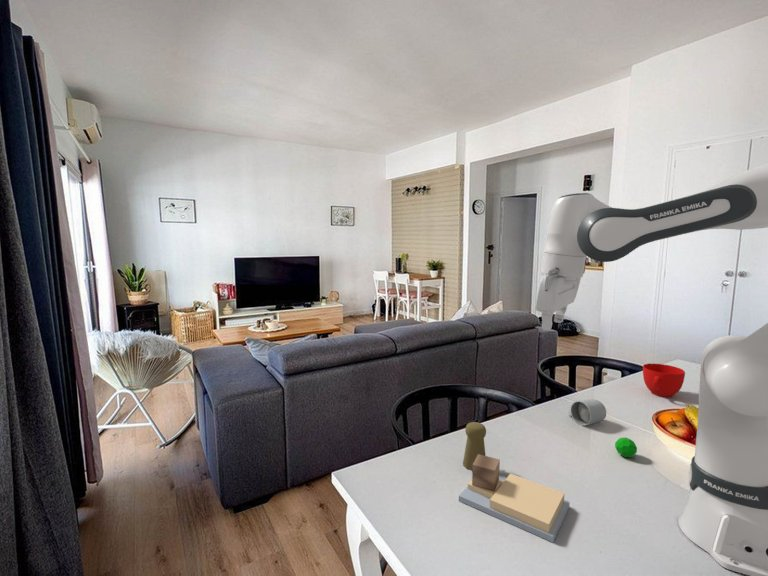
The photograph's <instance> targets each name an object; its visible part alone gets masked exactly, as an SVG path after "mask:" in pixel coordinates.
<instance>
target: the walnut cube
mask: <svg viewBox="0 0 768 576" xmlns="http://www.w3.org/2000/svg"><path fill="white" fill-rule="evenodd" d="M500 462H501V460H500V459H498V458H496V457H495V458H494V457H492V456H487V455H486V456H484V455H480V454H478V455H477V457H476V459H475V461H474V463H473V467H472V472H471V475H472V476H471V480H472V485H473V486H476V487H480V488H483V489H487V490H490V491H493V492H494V491H495V489H496V486H497V484H498V481H499V475H500Z"/></svg>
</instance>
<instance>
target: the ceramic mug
mask: <svg viewBox="0 0 768 576" xmlns="http://www.w3.org/2000/svg"><path fill="white" fill-rule="evenodd" d="M567 413H568V416H569V417H571V418H572V419H573V421H574V422H575V423H576V424H578V425H579V426H582V427H584V426H590V425H594V424H598V423H600V422H602V421H605V419H606V417H607V409H606V407H605V405H604V404H603V403H602V402H601V401H600V400H598V399H593V398H590V399H582V400H581V399H579V400H575V401H574V402H572V404H571V405H570V409H569V410H568V411H567Z"/></svg>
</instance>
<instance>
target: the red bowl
mask: <svg viewBox="0 0 768 576" xmlns="http://www.w3.org/2000/svg"><path fill="white" fill-rule="evenodd" d="M642 376H643V382H644V384H645V386H646V388H647V389H648V390H649V392H650V393H651V394H653V395H655V396H656V397H657V396H658V397H662V398H672V397H673V396H674V395H676V394H677V393H679V391H680V390H681V389H682V386H683V384H684V381H685V377H686V372H685V370H684V369H682V368H679V367H677V366H673V365H668V364H662V363H646V364H643V365H642Z"/></svg>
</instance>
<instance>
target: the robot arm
mask: <svg viewBox="0 0 768 576" xmlns="http://www.w3.org/2000/svg"><path fill="white" fill-rule="evenodd" d="M765 228H766V229H767V228H768V162H767V163H764V164H761V165H758V166H755V167H752V168H749V169H747V170H745V171H743V172H740V173H737V174H736V175H733V176H731V177H729V178H726V179H724V180H722V181H721V182H719V183H716V184H715V185H713V186H711V187H709V188H707V189H704V190H702V191H699V192H697V193H694V194H692V195H687V196H685V197H680V198H677V199H672V200H667V201H664V202H659V203H658V204H654V205H649V206H645V207H641V208H635V209H634V208H633V209H630V208H629V209H628V208H619V207H612V206H610V205H607V204H606V203H603V202H602V201H600V200H599V199H598V198H597V197H595V196H594V195H593V194H591V193H588V192H587V193H586V192H581V193H580V192H579V193H571V194H565V195H561V196H560V197H558V198H557V199H555V200H554V202H553V204H552V206H551V211H550V213H549V217H548V222H547V228H546V244H545V246H544V249H543V252H542V259H541V265H540V266H541V267H540V273H542V274H545V275H544V276H542V277H541V279H540V281H539V285H538V289H537V294H536V297H535V298H536V299H535V304H534V306H535V312H538V313H541V320H542V322H541V323H542V324H541V329H542V330H543V331H550V330H552V328H553V322H554V323H558V324H561V323H563V322H564V316H565V314H566V312H567V309H568V305H570V304H572V303H574V302H575V299H576V298H577V294H578V291H579V287H580V283H581V279H582V278H583V276H584V274H585V271H586V259H587V258H589V259H591V260H593V261H596V262H602V263H609V262H615V261H618V260H621V259H623V258H624V257H626V256H628V255H629V254H630V253H633V251H635V250H636V249H638V248H640V247H641V246H644V245H646V244H648V243H652V242H657V241H660V240H664V239H668V238H669V239H670V238H672V237H673V238H674V237H677V236H681V235H686V234H690V233H694V232H700V231H706V230H717V229H718V230H720V229H722V230H737V231H738V230H739V231H740V230H741V231H742V230H754V229H757V230H758V229H765ZM700 358H701V359H700V371H699V373H700V374H699V390H698V408H697V409H698V411H697V425H696V436H695V438H696V439H695V449H694V450H695V451H694V456H693V457H692V458H691V461H690V462H691V463H690V466H689V472H688V475H689V476H688V483H689V491H688V492H689V493H688V495H687V500H686V502H685V505H684V508H683V510H682V512H681V514H680V515H679V517H678V521H677V522H678V526H679V528H680V530H681V531H682V532H683V534H684V535H685V536H686V537H687V538H688V539H689V540H690V541H691V542H693V544H696V546H697V547H699V548H701V549H702V550H703V551H705V552H706V553H708V554H709V555H710V556H711V557H712V558H713V559H714V560H715V561H716V562H717V563H718V564H719V565H720V566H722V567H723V568H724V569H727V570H729V571H732V572H736V573H739V574H743V575H746V576H768V322H767V323H765V324H764V325H762V326H761V327H760V328H758V329H757V330H755V331H754V332H753V333H751V334H749V335H748V336H746V335H738V334H729V335H724V336H720V337H717V338H715V339H713V340H712V341H710V342H709V343H708V344H707V345H706V346H705V348H704V349H703V350H702V354H701V357H700Z"/></svg>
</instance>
